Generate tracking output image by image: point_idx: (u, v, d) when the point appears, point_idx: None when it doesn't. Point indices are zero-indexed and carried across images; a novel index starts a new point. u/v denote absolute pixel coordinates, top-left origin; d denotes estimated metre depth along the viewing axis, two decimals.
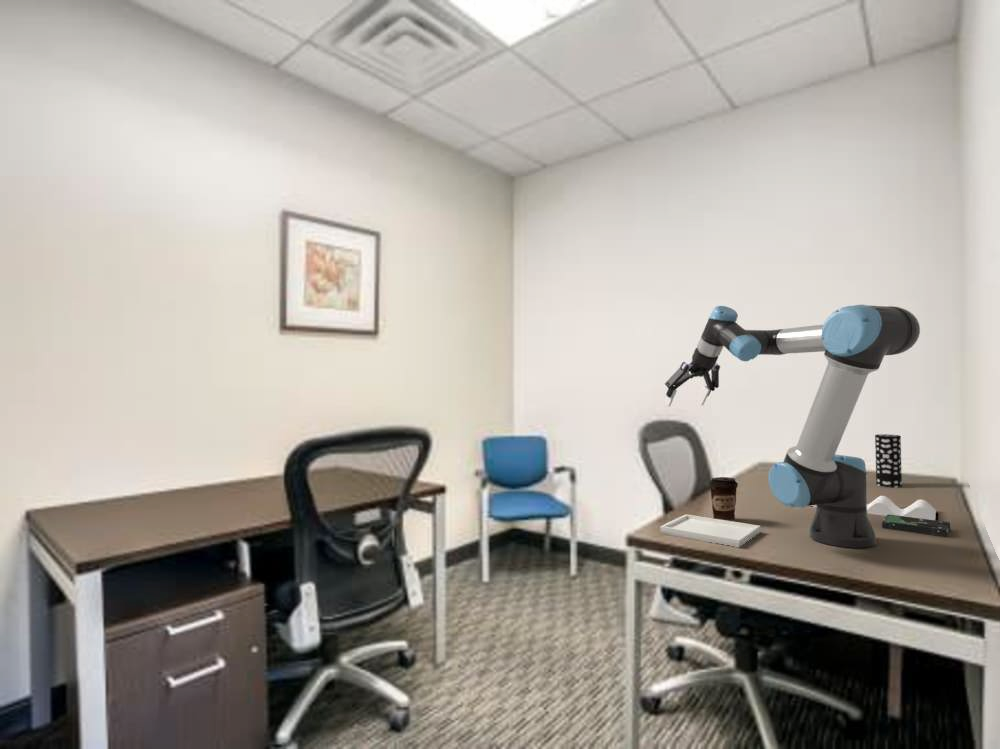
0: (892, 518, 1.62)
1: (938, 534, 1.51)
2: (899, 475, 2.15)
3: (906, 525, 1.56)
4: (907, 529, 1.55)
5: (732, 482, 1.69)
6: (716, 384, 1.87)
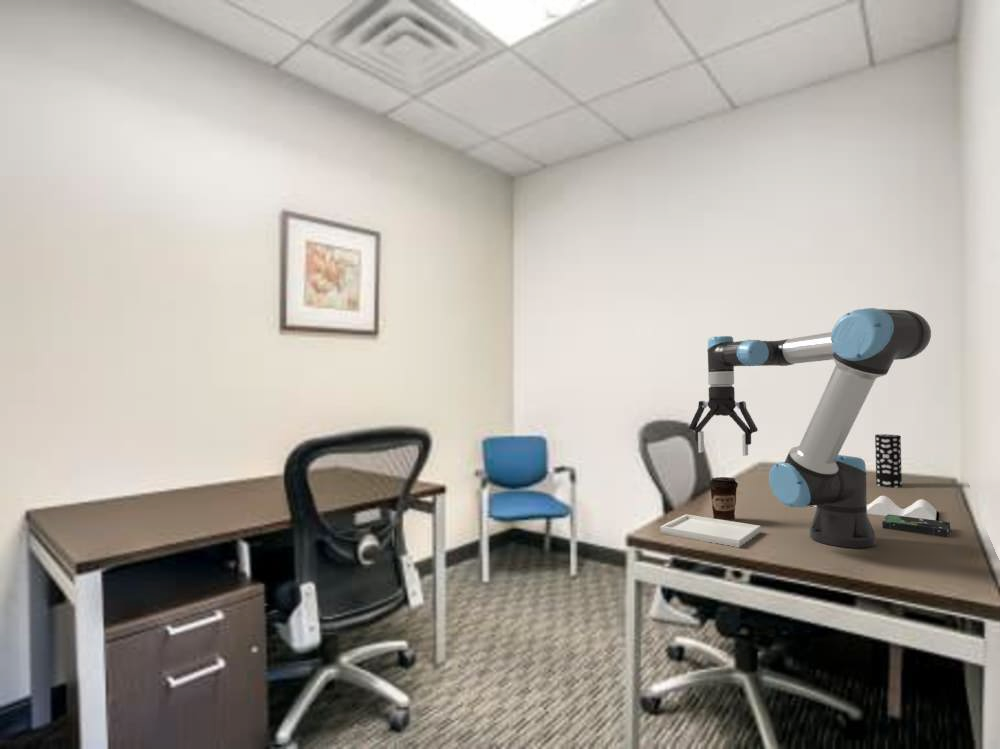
0: (892, 518, 1.62)
1: (938, 534, 1.51)
2: (899, 475, 2.15)
3: (906, 525, 1.56)
4: (907, 529, 1.55)
5: (732, 482, 1.69)
6: (750, 427, 1.65)
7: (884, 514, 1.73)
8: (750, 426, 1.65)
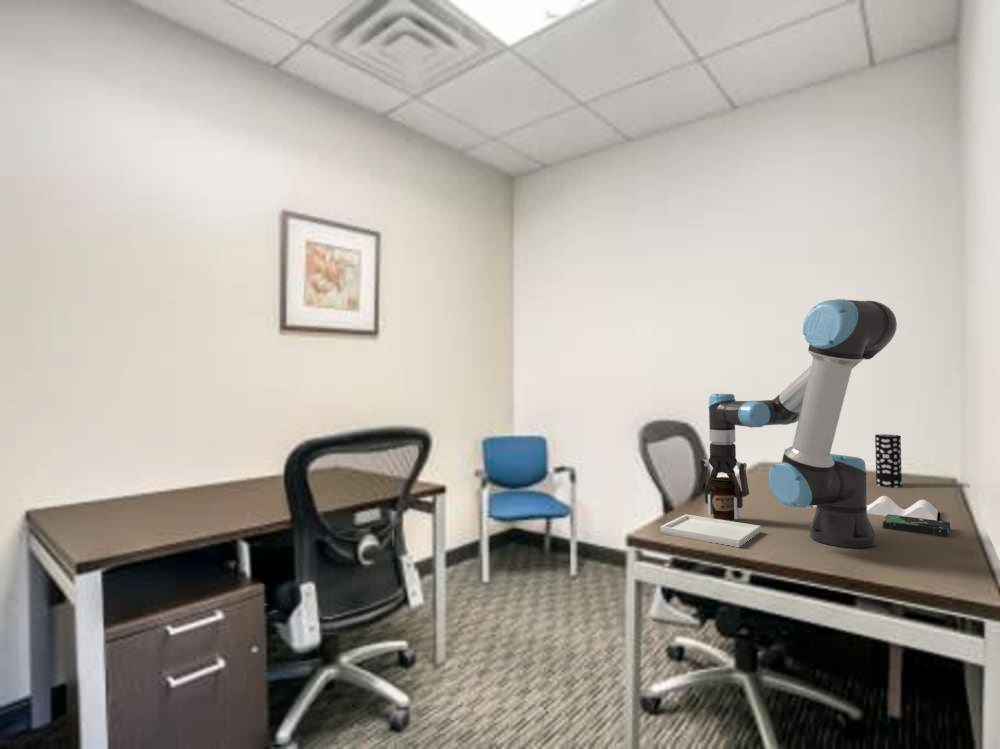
0: (892, 518, 1.62)
1: (939, 534, 1.51)
2: (899, 475, 2.15)
3: (907, 525, 1.55)
4: (908, 529, 1.55)
5: (732, 482, 1.69)
6: (743, 490, 1.67)
7: (885, 514, 1.73)
8: (743, 490, 1.67)
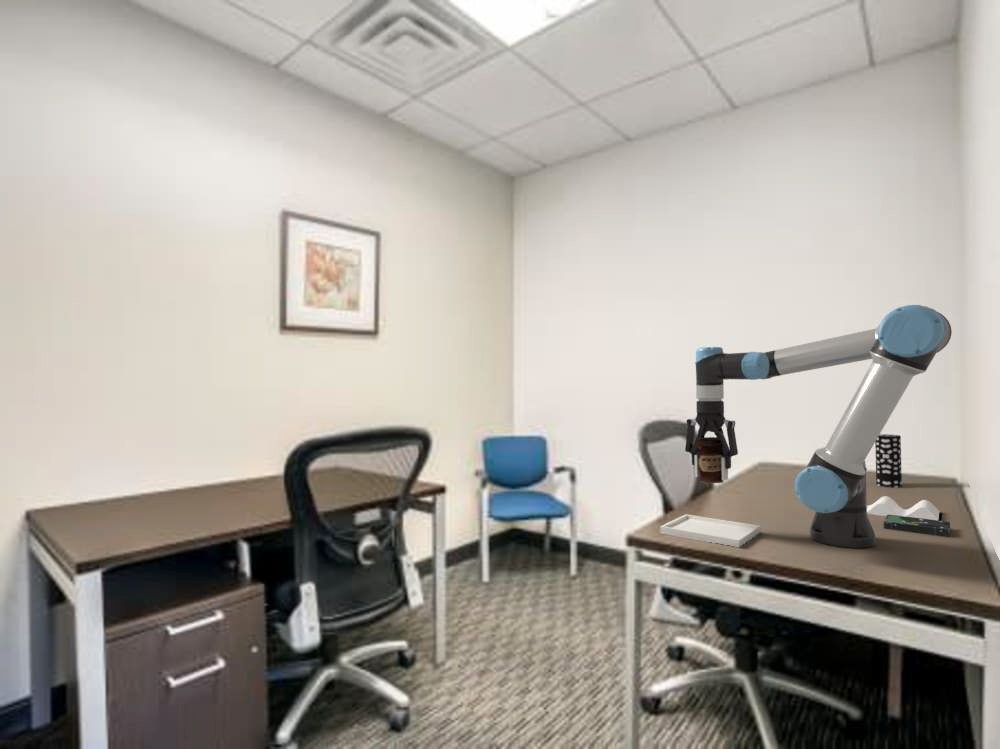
0: (893, 518, 1.62)
1: (940, 534, 1.51)
2: (899, 475, 2.15)
3: (908, 525, 1.55)
4: (908, 530, 1.55)
5: None
6: (731, 449, 1.56)
7: (886, 514, 1.73)
8: (731, 449, 1.55)
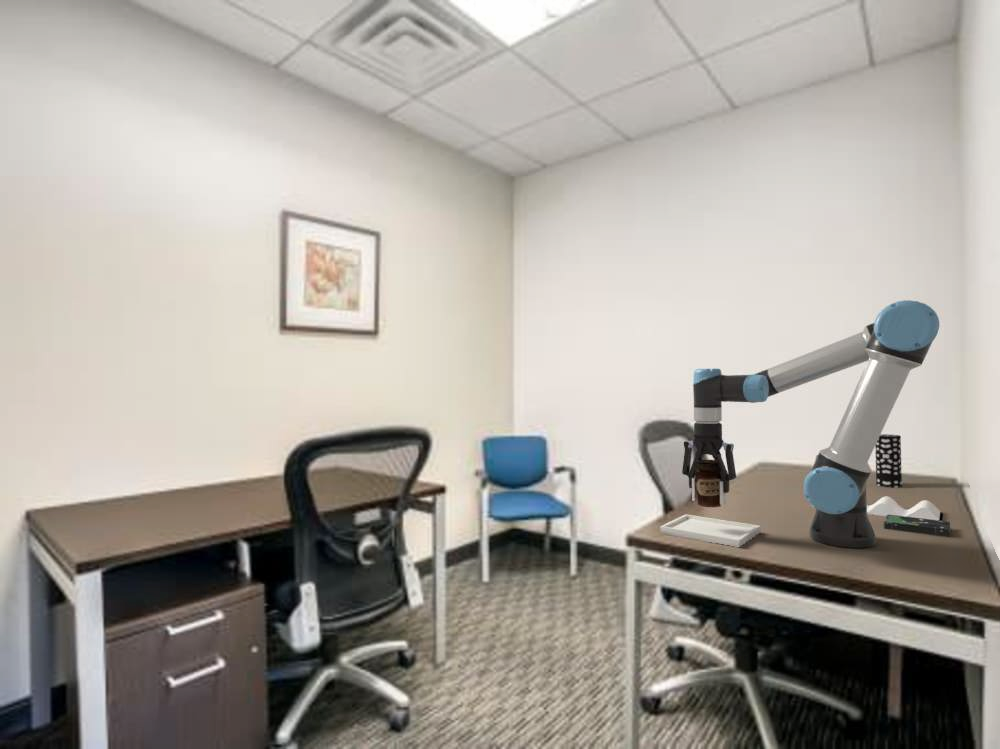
0: (893, 518, 1.62)
1: (941, 534, 1.51)
2: (899, 475, 2.15)
3: (908, 525, 1.55)
4: (909, 530, 1.55)
5: None
6: (729, 473, 1.53)
7: None
8: (729, 473, 1.53)
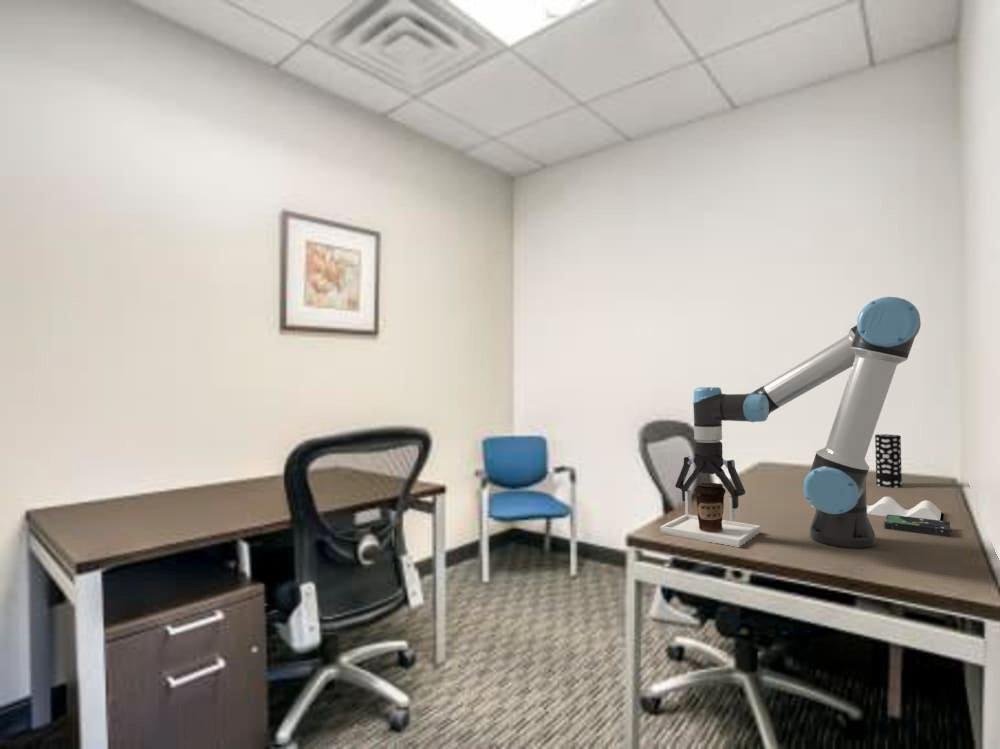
0: (893, 518, 1.62)
1: (941, 534, 1.51)
2: (899, 475, 2.15)
3: (909, 525, 1.55)
4: (909, 530, 1.55)
5: (719, 488, 1.54)
6: (737, 489, 1.51)
7: None
8: (737, 488, 1.51)
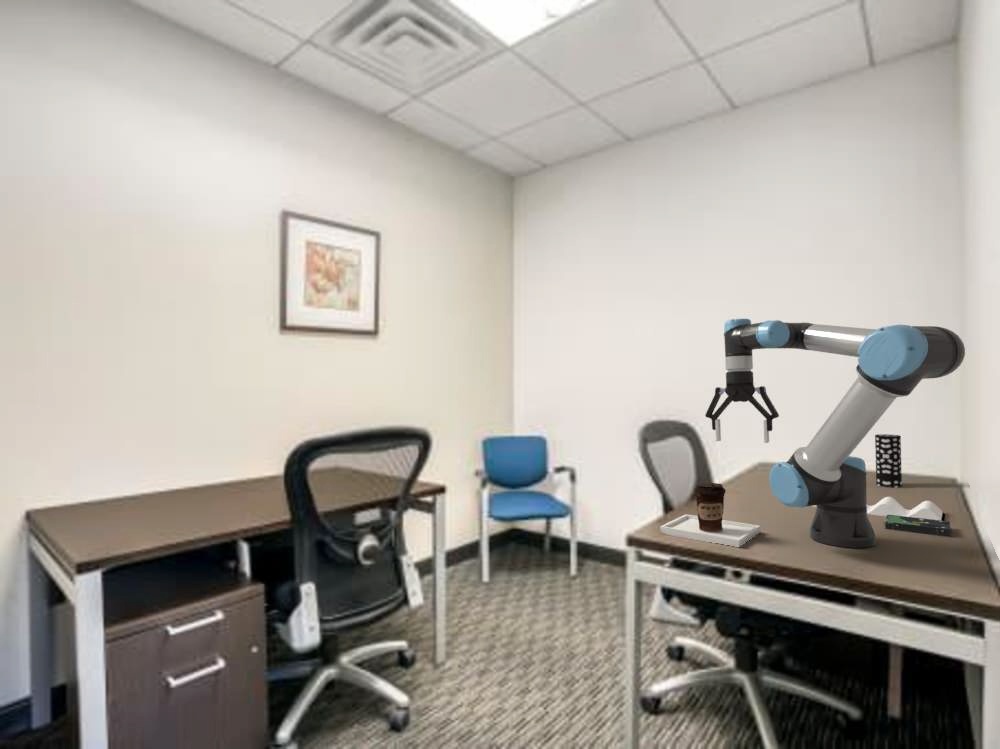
0: (893, 518, 1.62)
1: (942, 534, 1.51)
2: (899, 475, 2.15)
3: (910, 525, 1.55)
4: (910, 530, 1.55)
5: (719, 489, 1.54)
6: (772, 412, 1.58)
7: None
8: (772, 411, 1.58)
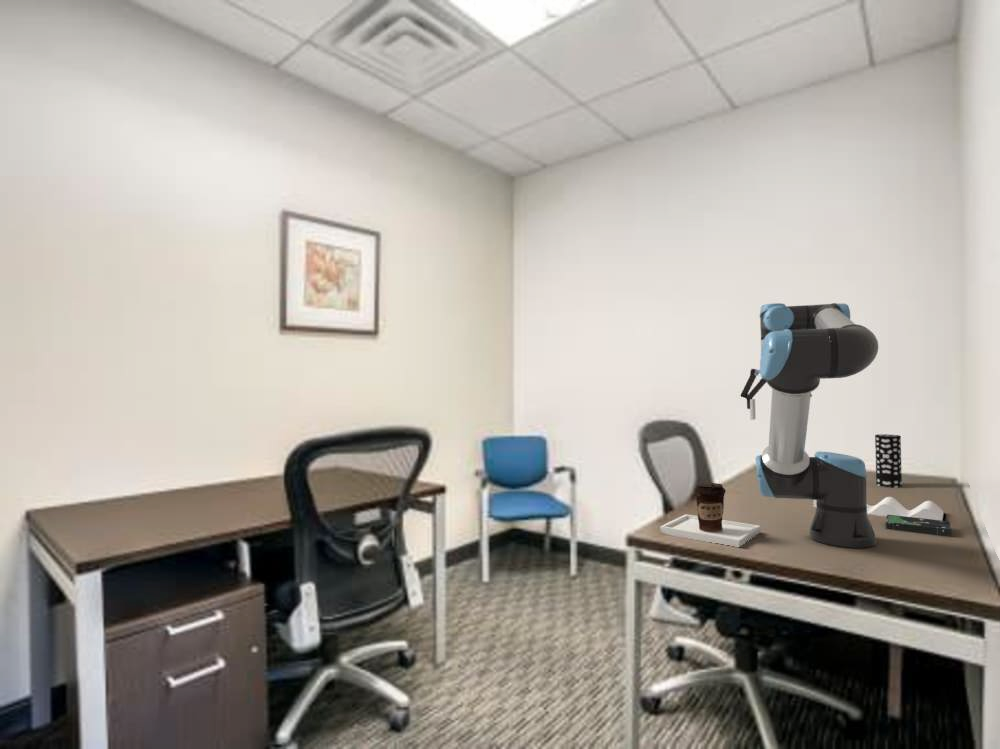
0: (893, 518, 1.62)
1: (943, 534, 1.51)
2: (899, 475, 2.15)
3: (910, 525, 1.55)
4: (911, 530, 1.55)
5: (719, 489, 1.54)
6: None
7: None
8: None
